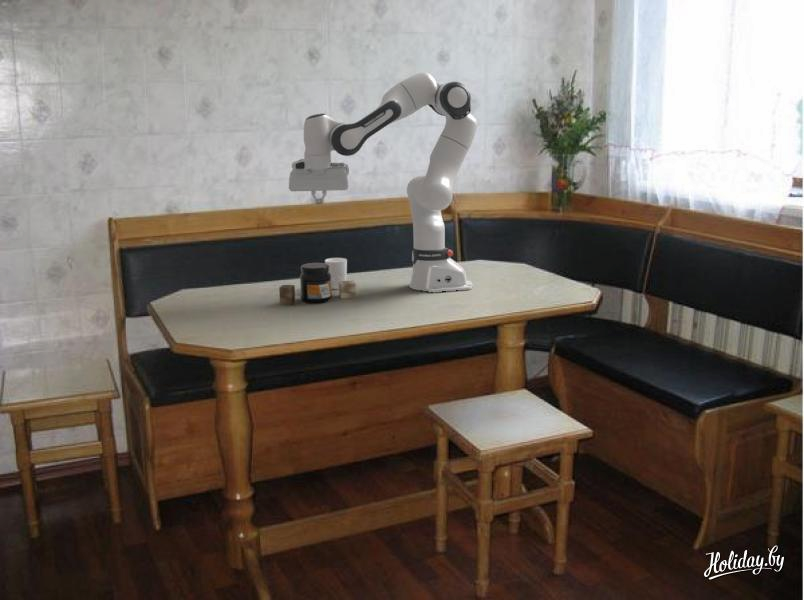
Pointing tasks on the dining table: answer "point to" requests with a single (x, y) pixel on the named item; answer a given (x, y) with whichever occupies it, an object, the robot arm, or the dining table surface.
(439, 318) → the dining table surface
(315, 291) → the supplement container
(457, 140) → the robot arm
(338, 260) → the white cup
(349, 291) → the beech block
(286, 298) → the walnut block
